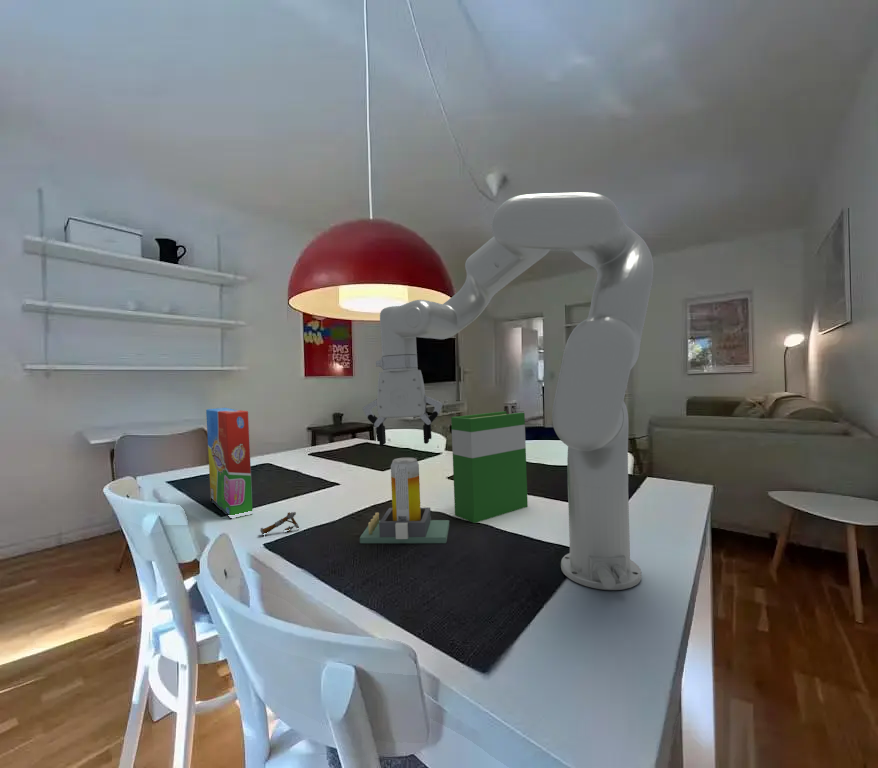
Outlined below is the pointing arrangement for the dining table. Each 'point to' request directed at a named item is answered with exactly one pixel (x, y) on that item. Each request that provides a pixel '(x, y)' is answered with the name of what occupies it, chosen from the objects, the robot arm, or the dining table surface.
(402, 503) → the beer can
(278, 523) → the wooden post with brackets
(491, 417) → the green cereal box
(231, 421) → the game box
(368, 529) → the header board
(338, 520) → the dining table surface
